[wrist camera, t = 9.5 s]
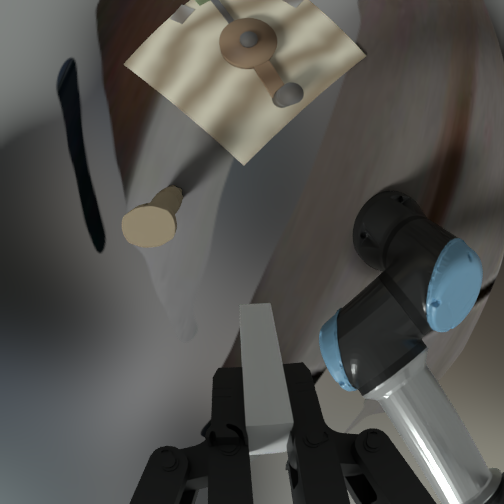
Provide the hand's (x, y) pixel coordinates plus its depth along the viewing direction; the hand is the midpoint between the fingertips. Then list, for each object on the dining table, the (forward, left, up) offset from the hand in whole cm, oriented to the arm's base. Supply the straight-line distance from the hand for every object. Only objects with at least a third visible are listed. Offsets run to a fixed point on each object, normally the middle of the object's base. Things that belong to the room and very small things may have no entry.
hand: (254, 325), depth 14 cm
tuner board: (+15, -17, -32) cm, 39 cm away
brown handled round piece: (+16, -17, -31) cm, 39 cm away
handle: (+7, +8, -33) cm, 34 cm away
